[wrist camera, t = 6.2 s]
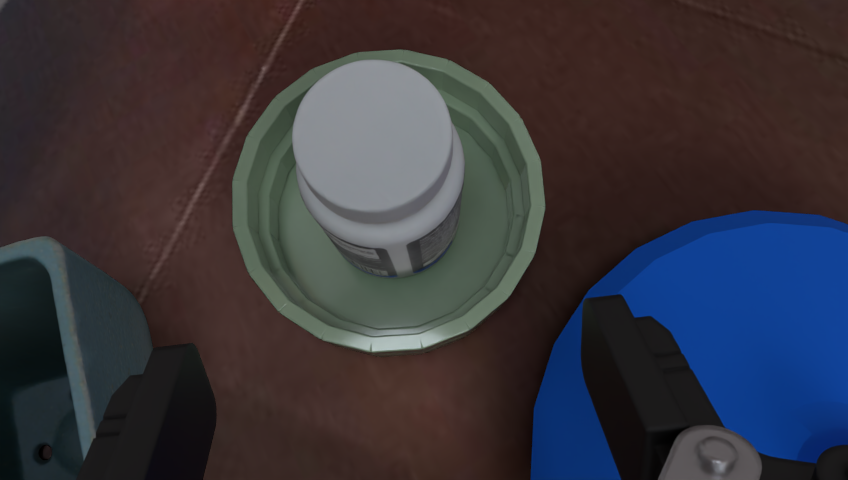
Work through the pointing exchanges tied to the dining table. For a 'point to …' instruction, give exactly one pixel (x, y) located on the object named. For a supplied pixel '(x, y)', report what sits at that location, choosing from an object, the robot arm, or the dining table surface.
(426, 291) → the bowl
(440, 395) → the dining table surface
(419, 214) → the pill bottle
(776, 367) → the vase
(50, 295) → the flower pot
